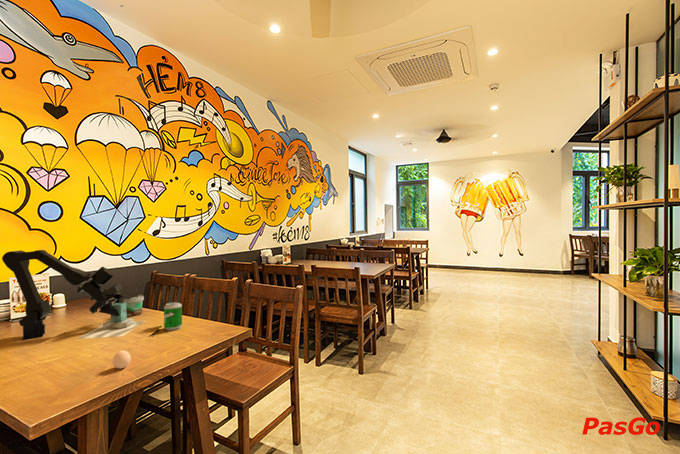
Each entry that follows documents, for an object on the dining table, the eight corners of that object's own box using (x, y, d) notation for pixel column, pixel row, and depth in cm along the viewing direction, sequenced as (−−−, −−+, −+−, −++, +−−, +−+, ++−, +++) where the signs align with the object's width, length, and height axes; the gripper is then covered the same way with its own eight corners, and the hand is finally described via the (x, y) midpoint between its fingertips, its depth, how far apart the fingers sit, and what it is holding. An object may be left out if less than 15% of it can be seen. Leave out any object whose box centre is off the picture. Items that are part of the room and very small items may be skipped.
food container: (134, 318, 165) (134, 299, 165) (123, 318, 165) (122, 299, 165) (149, 311, 177) (149, 294, 177) (138, 311, 178) (138, 294, 177)
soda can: (177, 325, 152) (177, 300, 152) (184, 328, 148) (184, 303, 148) (161, 329, 147) (161, 303, 147) (168, 332, 142) (167, 306, 142)
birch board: (75, 342, 130) (75, 338, 130) (107, 325, 152) (107, 322, 152) (121, 339, 133) (121, 336, 133) (146, 323, 155) (146, 320, 155)
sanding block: (103, 328, 142) (102, 306, 142) (111, 324, 149) (111, 302, 149) (126, 327, 144) (126, 305, 144) (133, 323, 150) (133, 301, 150)
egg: (132, 367, 107) (132, 350, 107) (114, 372, 103) (114, 355, 103) (128, 363, 110) (128, 346, 110) (110, 368, 106) (110, 351, 106)
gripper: (96, 283, 137) (123, 306, 138) (120, 276, 155) (144, 297, 157) (77, 301, 135) (104, 325, 137) (103, 292, 154) (127, 313, 155)
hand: (121, 314), depth 147 cm, fingers closed on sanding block, 4 cm apart
